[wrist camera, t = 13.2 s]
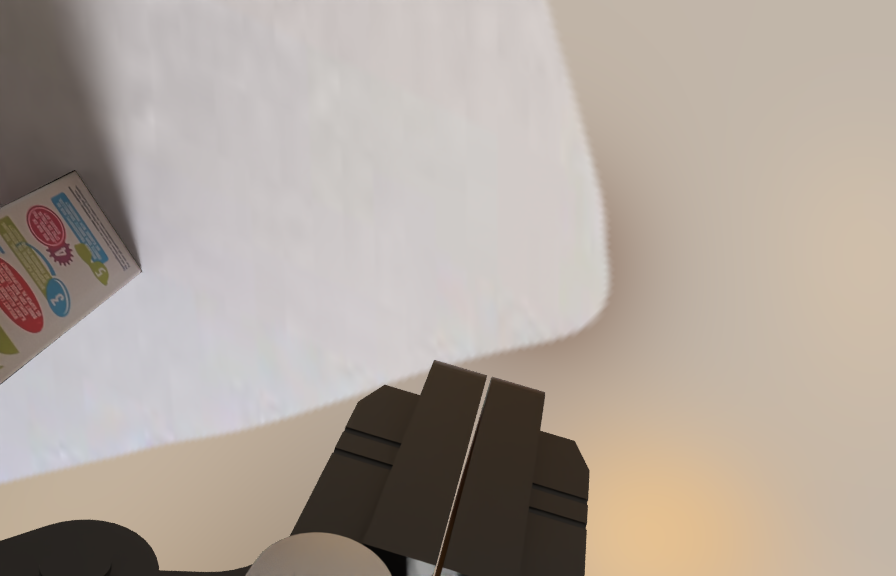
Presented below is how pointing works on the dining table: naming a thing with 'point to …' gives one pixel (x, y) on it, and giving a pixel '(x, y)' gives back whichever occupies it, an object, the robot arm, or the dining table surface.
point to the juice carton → (54, 267)
